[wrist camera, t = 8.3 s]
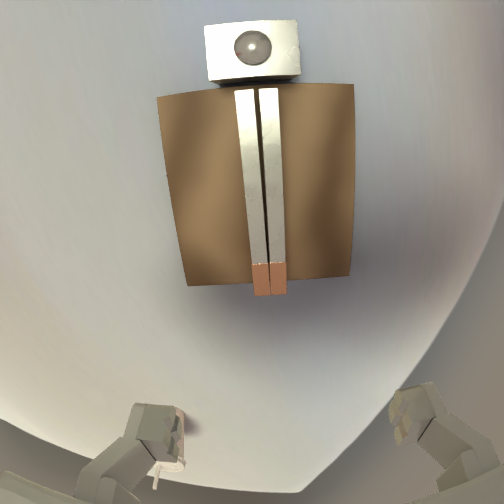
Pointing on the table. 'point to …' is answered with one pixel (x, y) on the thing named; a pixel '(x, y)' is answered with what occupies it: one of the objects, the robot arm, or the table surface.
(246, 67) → the pivot block
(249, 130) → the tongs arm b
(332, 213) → the walnut board
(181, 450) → the smoothie
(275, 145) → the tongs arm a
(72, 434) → the table surface
